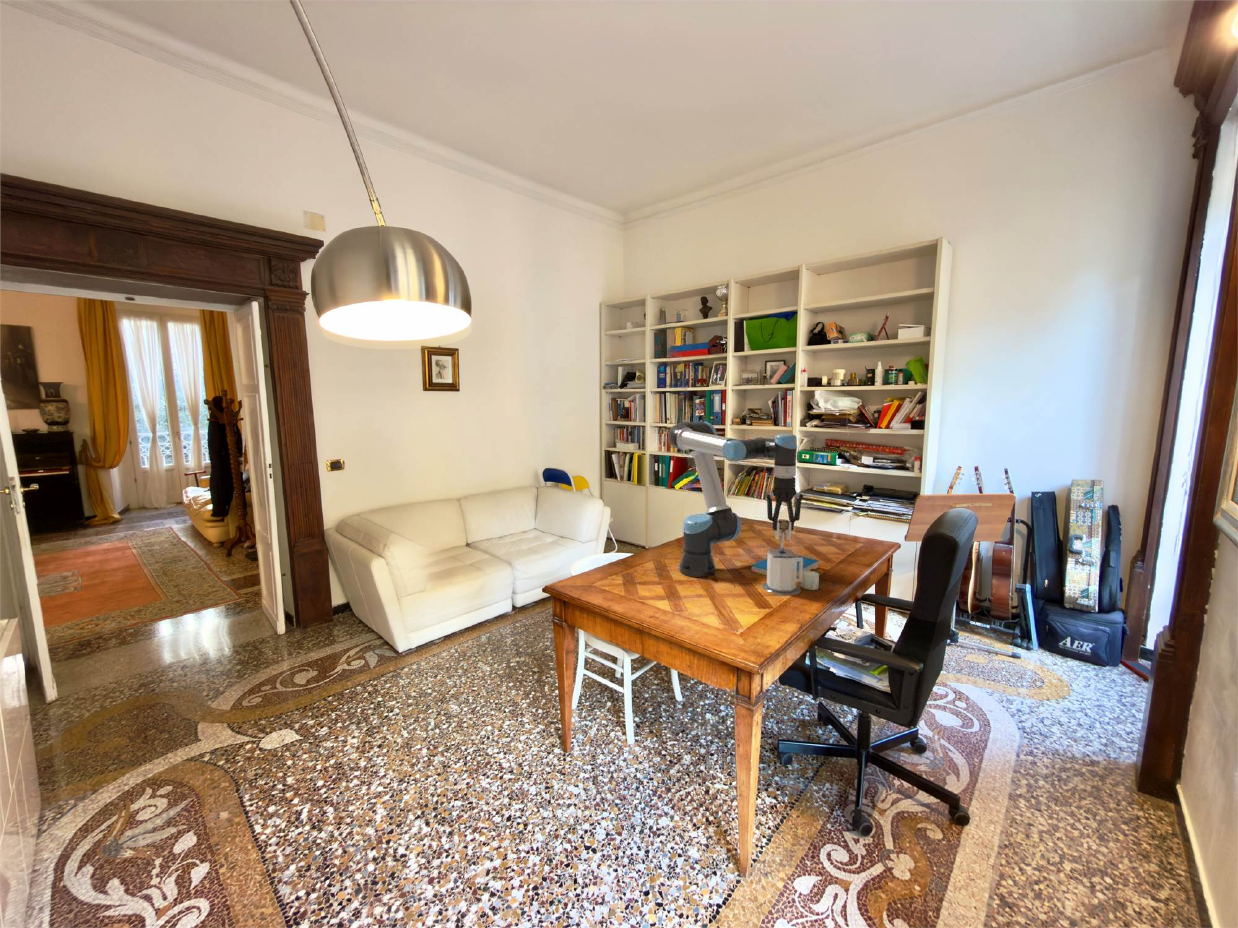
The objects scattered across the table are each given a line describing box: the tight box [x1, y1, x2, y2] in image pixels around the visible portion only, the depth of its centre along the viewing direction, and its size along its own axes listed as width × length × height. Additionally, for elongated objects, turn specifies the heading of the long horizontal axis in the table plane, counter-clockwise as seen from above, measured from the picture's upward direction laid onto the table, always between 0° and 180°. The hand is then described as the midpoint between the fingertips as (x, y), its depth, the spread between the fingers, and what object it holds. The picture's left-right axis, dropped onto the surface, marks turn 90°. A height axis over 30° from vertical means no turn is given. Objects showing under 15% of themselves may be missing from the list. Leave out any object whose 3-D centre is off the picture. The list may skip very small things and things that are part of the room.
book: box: [750, 554, 819, 578], centre depth 201 cm, size 17×4×25 cm
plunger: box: [778, 518, 789, 554], centre depth 179 cm, size 4×4×16 cm
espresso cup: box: [800, 570, 820, 591], centre depth 181 cm, size 7×6×6 cm
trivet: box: [761, 581, 802, 596], centre depth 181 cm, size 14×14×1 cm
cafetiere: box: [766, 548, 803, 593], centre depth 180 cm, size 10×13×14 cm
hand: (782, 538), depth 179 cm, fingers closed on plunger, 4 cm apart
